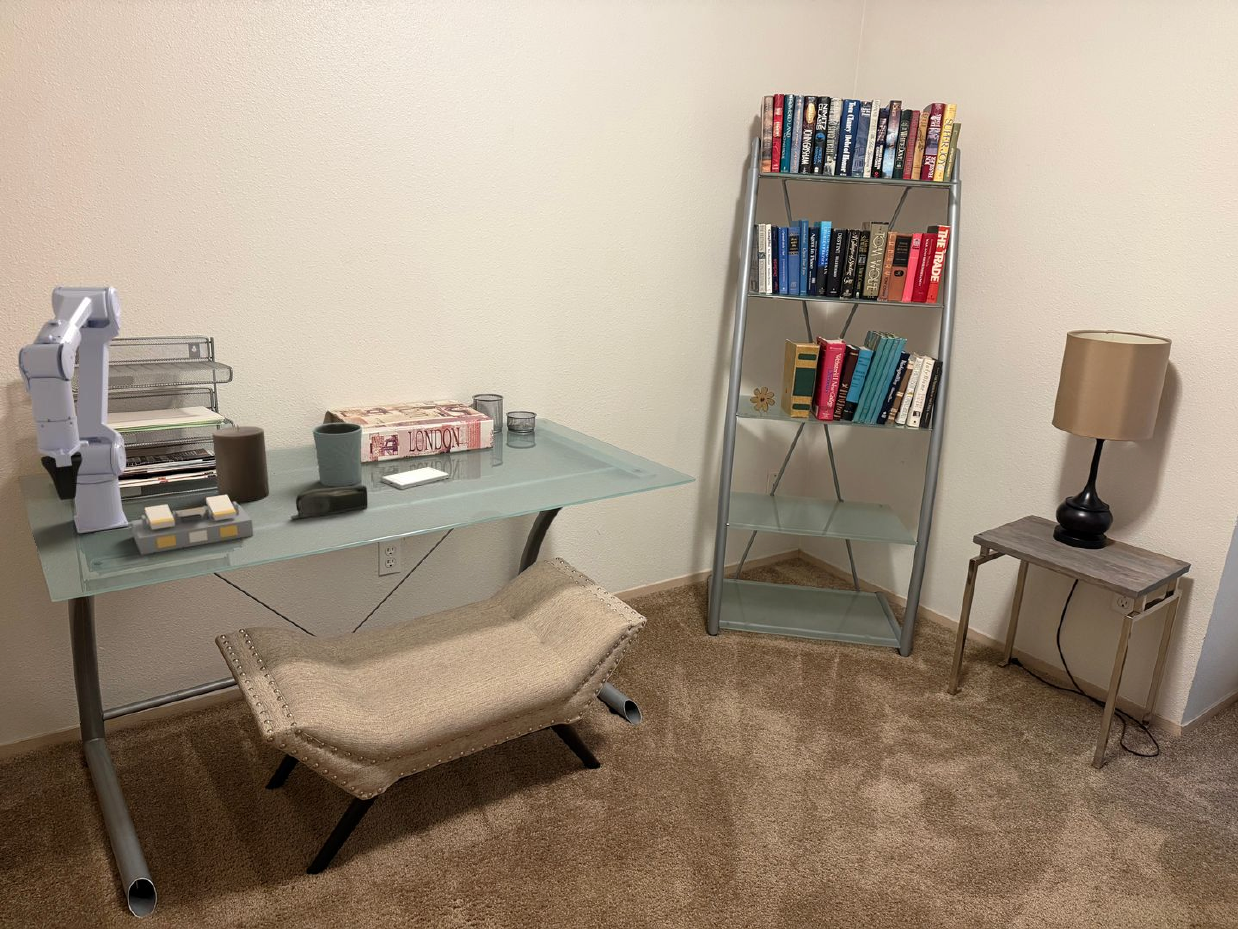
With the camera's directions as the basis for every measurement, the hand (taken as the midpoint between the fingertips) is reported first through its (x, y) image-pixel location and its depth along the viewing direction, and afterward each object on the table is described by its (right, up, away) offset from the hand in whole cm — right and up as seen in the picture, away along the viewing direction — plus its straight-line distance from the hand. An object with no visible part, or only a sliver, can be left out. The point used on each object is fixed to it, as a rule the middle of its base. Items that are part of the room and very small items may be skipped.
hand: (67, 498), depth 144 cm
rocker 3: (+19, -2, +14) cm, 24 cm away
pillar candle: (+14, -1, +35) cm, 38 cm away
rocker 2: (+15, -3, +11) cm, 19 cm away
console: (+15, -7, +12) cm, 21 cm away
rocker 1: (+11, -4, +8) cm, 14 cm away
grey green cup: (+31, +2, +46) cm, 55 cm away
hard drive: (+46, +2, +49) cm, 67 cm away
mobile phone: (+35, -4, +26) cm, 44 cm away
